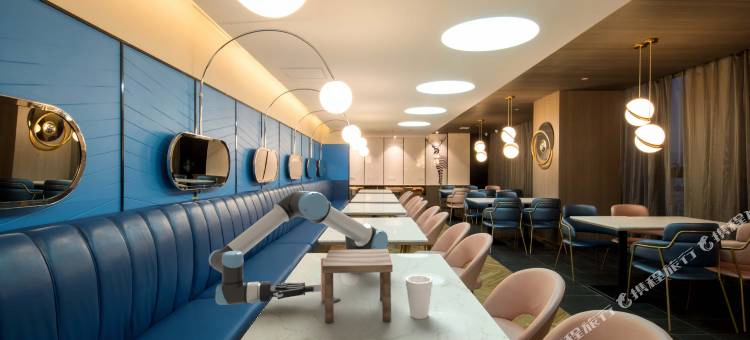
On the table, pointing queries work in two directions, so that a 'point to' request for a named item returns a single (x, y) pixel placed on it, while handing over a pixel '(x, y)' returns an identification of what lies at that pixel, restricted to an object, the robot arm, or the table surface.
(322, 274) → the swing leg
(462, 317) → the table surface
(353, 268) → the stool
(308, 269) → the table surface
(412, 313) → the foam cup
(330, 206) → the robot arm
